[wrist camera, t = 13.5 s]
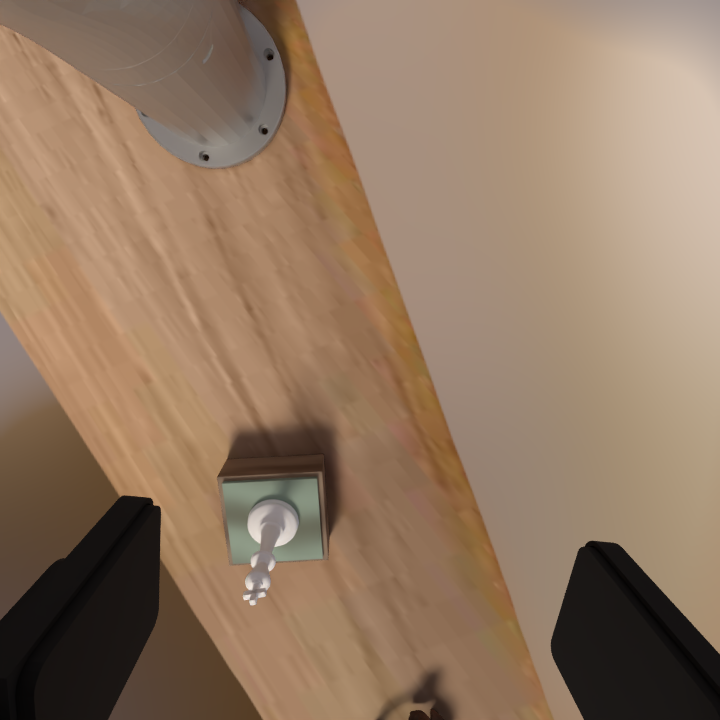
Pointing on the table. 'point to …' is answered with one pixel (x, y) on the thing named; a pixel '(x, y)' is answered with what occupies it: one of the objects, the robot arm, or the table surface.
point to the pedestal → (281, 482)
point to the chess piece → (267, 542)
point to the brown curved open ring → (424, 715)
